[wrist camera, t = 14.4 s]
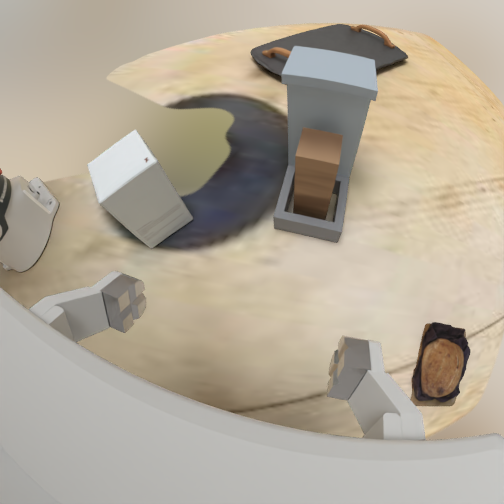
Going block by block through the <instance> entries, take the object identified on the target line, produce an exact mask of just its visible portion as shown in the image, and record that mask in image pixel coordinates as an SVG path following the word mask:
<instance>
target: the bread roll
mask: <svg viewBox="0 0 504 504" xmlns="http://www.w3.org/2000/svg"><path fill="white" fill-rule="evenodd" d="M467 344H468V342H467V340H466V332H465V329H462V328H455V327H452V326H451V325H446V324H441V323H436V322H435V323H432V324H426V325H425V328H424V331H423V336H422V341H421V344H420V349H419V353H418V359H417V365H416V368H415V369H414V377H413V379H412V381H413V386H412V397H411V401H412V402H413V404H414V405H415V406H452V405H453V404H454V403H455V400H456V396H457V395H458V394H459V393H460V391H459V384H460V381H461V380H462V377H463V376H464V373H465V370H466V364H467V361H468V358H469V355H470V349H469V347H468V345H467Z"/></svg>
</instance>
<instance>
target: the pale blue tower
mask: <svg viewBox="0 0 504 504" xmlns="http://www.w3.org/2000/svg"><path fill="white" fill-rule="evenodd" d="M281 75H282V84H287V99H288V168H287V171H286V175H285V178H284V182H283V185H282V189H281V192H280V196H279V199H278V203H277V206H276V210H275V213H274V228H275V229H280V230H284V231H289V232H293V233H298V234H302V235H307V236H311V237H315V238H320V239H324V240H328V241H333V242H338V239H339V237H340V235H341V233H342V227H343V220H344V214H345V207H346V199H347V192H348V184H349V176H350V173H351V170H352V167H353V163H354V160H355V156H356V153H357V149H358V146H359V142H360V139H361V135H362V131H363V128H364V124H365V120H366V116H367V112H368V108H369V104H370V100H373V101H375V100H376V96H377V92H378V88H377V77H376V68H375V60H373V59H369V58H365V57H360V56H356V55H351V54H346V53H341V52H336V51H330V50H323V49H317V48H309V47H301V46H294V47H293V49H292V51H291V54H290V56H289V58H288V60H287V62H286V65H285V67H284V69H283V71H282V74H281ZM303 127H305V128H310V129H316V130H321V131H326V132H331V133H336V134H340V135H343V139H342V147H341V155H340V162H339V167H338V172H337V176H336V180H335V184H334V188H333V192H332V193H334V194H337V200H336V206H335V212H334V218H333V222H330V221H326V220H321V219H317V218H312V217H308V216H303V215H299V214H294V213H289V212H287V210H288V206H289V203H290V199H291V195H292V191H293V187H294V184H295V155H296V152H297V148H298V144H299V141H300V137H301V133H302V129H303Z"/></svg>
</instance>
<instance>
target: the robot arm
mask: <svg viewBox="0 0 504 504" xmlns="http://www.w3.org/2000/svg"><path fill="white" fill-rule="evenodd" d="M1 174H2V170H1V169H0V262H2V263H3V268H4V269H6V270H11V269H14V270H16V271H18V272H23V271H26V270H27V269H29V268H30V267H31V266H32V265H33V264H34V263H35V262H36V261H37V259H38V258H39V256H40V255H41V253H42V251H43V249H44V247H45V245H46V243H47V240H48V238H49V234H50V231H51V226H52V221H53V218H54V216H55V213H56V211H57V209H58V206H59V202H58V201H57V200H56V198H55V197H54V196H53V195H52V193H51V192H50V191H49V190H48V188H47V187H46V186H45V184H44V183H43V182H42V181H41V179H40V178H38V177H36V178H34V179H33V180H31V181H30V182H28V181H26V180H25V179H24V178H23V177H21V176H17V177H15V178H12V179H10V180H9V179H7V178H6V177H5V176H3V175H1ZM144 290H145V287H144V282H143V281H142V280H139V279H136V278H134V277H131V276H128V275H126V274H123V273H120V272H118V271H112V272H111V273H109V274H108V275H107V276H105V277H104V278H103V279H101V280H100V281H99V282H97V283H96V284H95V285H93V286H92V287H89V286H88V287H84V288H80V289H76V290H72V291H67V292H63V293H59V294H55V295H51V296H46V297H44V298H43V299H41V300H40V301H39V302H38V303H36V304H35V305H34V306H32V307H31V308H30V309H29V310H28V309H26V308H25V307H24V306H23V305H21V304H20V303H19V302H18V301H16V300H15V299H14V298H13V297H11V296H10V295H9V294H8V293H7V292H5V291H4V290H3V289H2V288H1V287H0V504H504V438H503V437H502V436H501V435H500V434H497V433H493V434H486V435H479V436H472V437H463V438H454V439H440V440H425V431H424V424H423V417H422V413H421V412H420V411H419V410H418V408H417V407H416V406H415V405H414V404H413V402H412V401H411V400H410V399H409V397H408V396H407V395H406V394H405V393H404V391H403V390H402V389H401V388H400V387H399V385H398V384H397V383H396V382H395V381H394V379H393V378H392V377H391V376H390V375H389V374H388V373H385V370H384V362H383V355H382V349H381V343H380V342H378V341H371V340H364V339H358V338H353V337H348V336H342V337H341V339H340V341H339V343H338V350H336V351H335V352H334V354H333V356H332V359H331V362H330V367H329V375H330V377H331V378H330V380H329V382H328V388H327V397H332V398H337V399H342V400H348V401H347V402H348V403H349V405H350V407H351V409H352V411H353V413H354V415H355V417H356V419H357V421H358V423H359V425H360V426H361V428H362V430H363V432H364V434H365V435H364V436H363V437H362V438H356V437H346V436H338V435H331V434H324V433H318V432H312V431H306V430H301V429H295V428H291V427H286V426H281V425H277V424H272V423H268V422H264V421H260V420H256V419H253V418H249V417H245V416H242V415H238V414H235V413H232V412H228V411H225V410H222V409H219V408H216V407H213V406H210V405H207V404H204V403H201V402H198V401H196V400H193V399H190V398H188V397H185V396H182V395H180V394H177V393H175V392H172V391H170V390H168V389H165V388H163V387H161V386H158V385H156V384H154V383H151V382H149V381H147V380H145V379H143V378H141V377H138V376H136V375H134V374H132V373H130V372H128V371H126V370H124V369H122V368H120V367H118V366H116V365H114V364H113V363H111V362H109V361H107V360H105V359H103V358H101V357H100V356H98V355H96V354H94V353H93V352H91V351H89V350H87V349H86V348H84V347H82V346H81V345H79V344H77V343H76V342H78V341H80V340H82V339H85V338H87V337H89V336H92V335H94V334H96V333H98V332H101V331H103V330H105V329H108V328H110V327H111V328H114V329H116V330H118V331H121V332H123V333H126V332H127V331H128V330H129V328H130V327H131V326H132V325H133V324H134V321H133V320H135V319H138V318H140V317H141V316H142V314H143V313H144V310H145V308H146V298H145V296H144V294H143V293H142V292H143V291H144Z"/></svg>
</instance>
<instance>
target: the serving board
mask: <svg viewBox="0 0 504 504" xmlns="http://www.w3.org/2000/svg"><path fill="white" fill-rule="evenodd" d="M362 28H363V29H367V30H369V31H372V32H374V33H376V34H378V35H379V36H381V37H382V38H381V37H379V36H377V35H375V34H373V33H370V32H368V31H365V30H362ZM294 46H301V47H309V48H317V49H323V50H330V51H336V52H341V53H346V54H351V55H356V56H360V57H365V58H369V59H373V60H375V68H376V70H378V69H380V68H383V67H385V66H388V65H392V64H393V63H395V62H398V61H403V60H405V59H407V58H408V56H407V54H406V53H405V52H403V51H402V50H400V49H399V48H398V47H396V46H395V45H394V44H392V43H391V42H390V40H389V38H388V37H387V36H386V35H385V34H384V33H383V32H381V31H380V30H378V29H376V28H373V27H371V26H368V25H359V26H357V27H354V26H348V25H343V24H337V25H331V26H327V27H323V28H318V29H315V30H310V31H306V32H302V33H299V34H295V35H292V36H289V37H286V38H282V39H279V40H276V41H273V42H270V43H267V44H264V45H261V46H259V47H256V48H254V49H252V50H251V55H252V57H253V58H254V59H255V60H256V61H257V62H258V63H259V64H261V65H262V66H264V67H265V68H266V69H268V70H269V71H271V72H273V73H275V74H278V75H280V76H282V75H281V74H282V71H283V69H284V67H285V65H286V62H287V60H288V58H289V56H290V54H291V51H292V49H293V47H294Z"/></svg>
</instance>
